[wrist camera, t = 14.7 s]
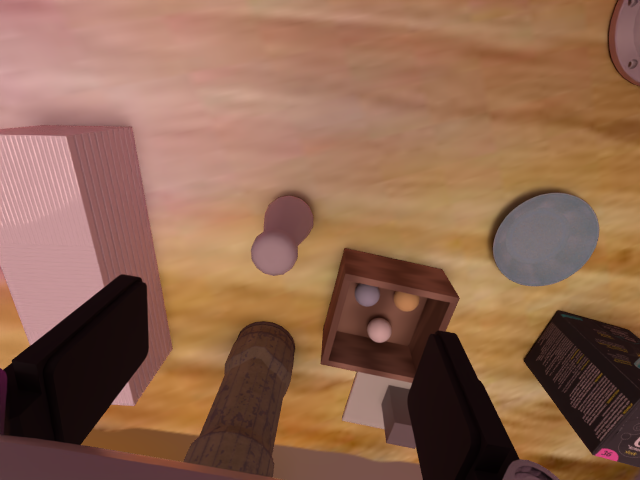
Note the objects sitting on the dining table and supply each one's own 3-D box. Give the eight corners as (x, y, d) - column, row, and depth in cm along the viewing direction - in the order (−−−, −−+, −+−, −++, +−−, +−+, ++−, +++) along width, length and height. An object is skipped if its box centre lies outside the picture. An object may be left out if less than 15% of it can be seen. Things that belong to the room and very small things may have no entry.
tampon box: (521, 360, 50) (589, 458, 36) (556, 307, 46) (645, 394, 33) (590, 379, 50) (683, 483, 37) (630, 329, 47) (748, 424, 33)
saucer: (507, 179, 40) (516, 184, 38) (605, 198, 41) (619, 204, 38) (472, 268, 45) (479, 276, 43) (560, 285, 45) (571, 294, 43)
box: (442, 269, 45) (459, 298, 38) (411, 347, 50) (422, 385, 43) (344, 248, 44) (345, 273, 38) (323, 329, 49) (320, 364, 43)
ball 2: (392, 315, 47) (396, 330, 44) (386, 334, 48) (389, 349, 45) (369, 310, 47) (371, 325, 44) (363, 329, 48) (365, 345, 45)
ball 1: (381, 279, 45) (384, 292, 42) (374, 300, 46) (377, 313, 43) (357, 274, 45) (358, 286, 42) (351, 295, 46) (352, 308, 43)
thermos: (303, 374, 53) (243, 813, 20) (226, 363, 53) (44, 784, 20) (309, 326, 49) (250, 761, 17) (227, 315, 49) (12, 727, 17)
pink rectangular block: (45, 124, 41) (-50, 133, 31) (133, 126, 40) (65, 135, 30) (105, 344, 53) (50, 401, 43) (173, 347, 52) (134, 406, 43)
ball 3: (419, 284, 45) (425, 297, 42) (412, 304, 46) (417, 318, 43) (395, 279, 45) (399, 291, 42) (389, 299, 46) (392, 313, 43)
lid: (456, 365, 51) (474, 408, 44) (425, 431, 56) (437, 479, 49) (363, 346, 51) (367, 386, 44) (342, 414, 56) (342, 460, 49)
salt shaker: (309, 187, 42) (297, 223, 30) (319, 231, 44) (310, 281, 32) (263, 195, 42) (232, 234, 30) (274, 238, 44) (250, 290, 32)
